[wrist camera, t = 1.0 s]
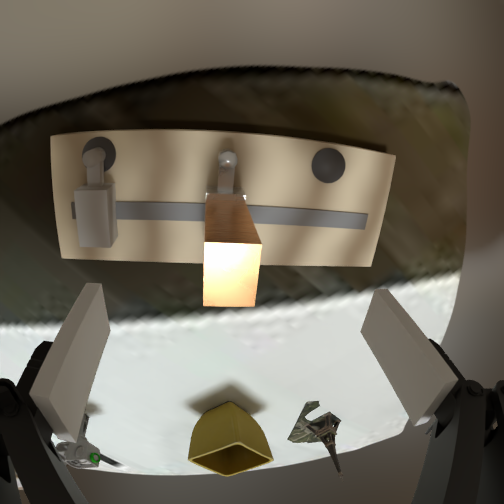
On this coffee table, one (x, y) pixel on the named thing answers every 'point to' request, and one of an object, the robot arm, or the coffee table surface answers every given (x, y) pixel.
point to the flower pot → (228, 441)
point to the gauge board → (206, 174)
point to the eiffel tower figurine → (317, 431)
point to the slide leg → (229, 241)
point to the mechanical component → (79, 450)
